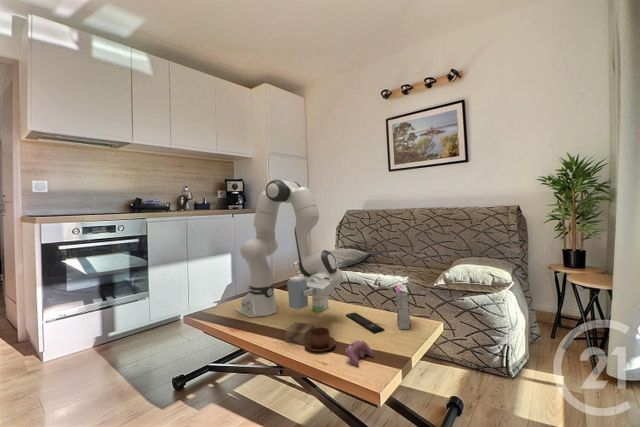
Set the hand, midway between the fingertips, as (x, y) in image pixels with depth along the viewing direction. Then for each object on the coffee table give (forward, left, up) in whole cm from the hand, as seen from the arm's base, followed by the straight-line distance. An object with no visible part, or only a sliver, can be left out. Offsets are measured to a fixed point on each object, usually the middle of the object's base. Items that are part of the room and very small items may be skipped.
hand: (296, 292), depth 124 cm
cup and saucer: (+11, 0, -20) cm, 23 cm away
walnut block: (0, +1, -20) cm, 20 cm away
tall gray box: (0, +1, -6) cm, 6 cm away
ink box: (-14, +33, -20) cm, 41 cm away
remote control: (+14, +28, -20) cm, 38 cm away
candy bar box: (+30, +35, -20) cm, 50 cm away
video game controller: (+29, -1, -20) cm, 35 cm away
